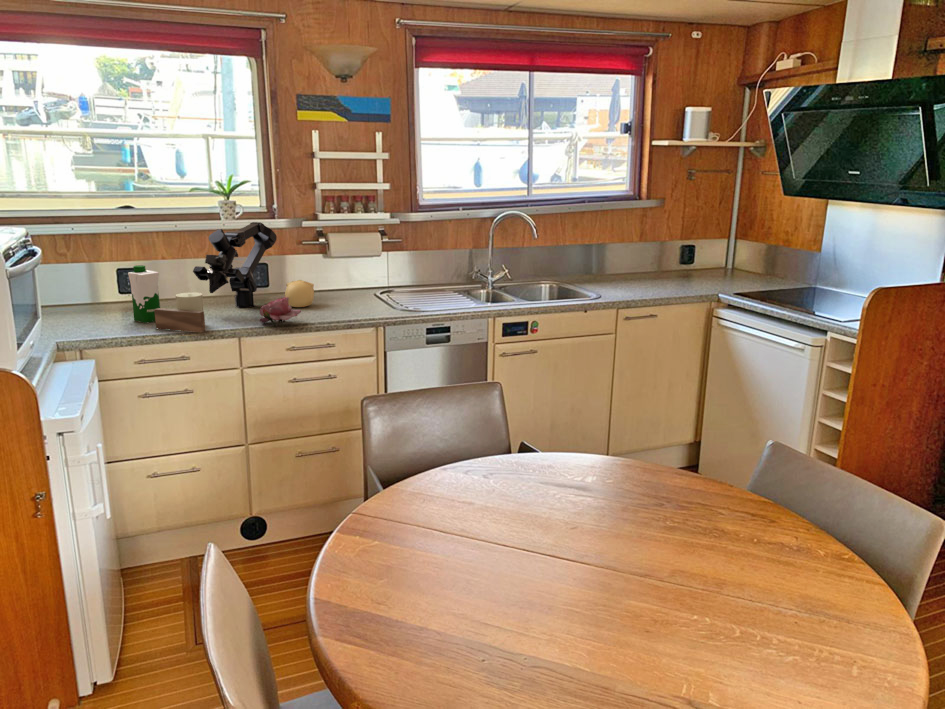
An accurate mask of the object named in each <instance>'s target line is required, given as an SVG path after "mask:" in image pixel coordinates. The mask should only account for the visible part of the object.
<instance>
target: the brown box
mask: <svg viewBox="0 0 945 709" xmlns="http://www.w3.org/2000/svg"><path fill="white" fill-rule="evenodd" d="M154 311H155V321H154V322H155V329H156V328H158V329H157V330H163V329H170V330H169V331H175V330H181V331H180V332H188V331H189V333H190V332H191V333H204V332H206V319H205V311H204V310H203V311H190V310H177V308H176V309H175V308H162V307H160V308H158V309H155V310H154Z"/></svg>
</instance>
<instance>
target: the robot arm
mask: <svg viewBox="0 0 945 709" xmlns="http://www.w3.org/2000/svg"><path fill="white" fill-rule="evenodd" d="M250 238H253V241H254V245H253V246H252V248H251V249H250V251H249V253H248V256H247V257H246V259H245V261H244V262H243V264H242V266H241V267H235V268H234V265H233V261H234V260H235V258H239V253H238V251H237V250H236V248H242V247H243V246H244V245H245V244H246V243H247V242H246V240H248V239H250ZM277 238H278V237H277V234H276V233H275V231H273V229H272V228H270V227H268V226H266V225H265V224H264V223H263V222H258V221H252V222H250V223H249V224H247V225H245V226H243V227H241V228H240V229H238V230H232V231H231V230H230V231H225V232H224V230H223V228H217V229H216V230H215V231H214V232H212V233H210V234H209V236H208V241H209V243H210V244H211V245H212V247H213V248H214V249H215V251H217V252H219V253H218V254H206V255H205V258H204V259H205V261H204V264H207V265H209V268H208V269H207V268H206V266H200V265H199V266H198V265H197V266H194V268H193V269H192V273H194V275H195V276H196V277H197V278H196V279H198V280H199V281H208V280H209V281H208V282H209V286H208V287H209V288H208V289H209V290H208V291H209V293H210V294H214V293H215V292H216V291H217V290H219V289H220V288H221V287H223V286H225V285H227V284H229V285H230V288H231V292H232V293H233V292H235V294H234V304H235V306H236V307H237V308H239V309H241V308H254V307H256V305H255V303H254V300H255V299H254V293H256V292H257V289H258V285H257V283H256V282H255V281H254V280H255V278H254V275H253V274H254V272H255V271H256V268H257V266H258V265H259V263H260V262H261V259H262V257H263V256H264V254H265V252H266V251H267V250H269V249H271V248H272V247H273V246H274V245H275V244H276V241H277Z"/></svg>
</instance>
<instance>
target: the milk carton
mask: <svg viewBox="0 0 945 709" xmlns="http://www.w3.org/2000/svg"><path fill="white" fill-rule="evenodd" d="M132 267H133V271H130V272H129V271H128V272H127V275H128V279H129V283H130V289H131V292H130V293H131V299H132V300H131V301H132V309H133V311H132V313H133V321H134V320H135V321H134V322H138V321H140V322H139V323H143V322H144V323H145V324H148V323H147V322H149V323H153V321H154V322H155V311H154V310H155V309H158V308H161V304H160V295H159V277H160V272H159V271H155V270H149V269H147V268H146V265H142V264H140V265H134V266H132Z"/></svg>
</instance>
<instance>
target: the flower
mask: <svg viewBox="0 0 945 709" xmlns="http://www.w3.org/2000/svg"><path fill="white" fill-rule="evenodd" d="M288 300H289V298H288V297H287V298H286V297H285V296H284V297H282V298H275V300H271V301H269V302H268V303H267V304H264V305H262V306H261V307H260V309H259V314H260V316H262V318H260V319H259V322H261V323H262V324H265V322H266V323H267V322H269V321H270V322H271V323H272V324H273V326H274V327H276V324H275V322H277V321H278V324H280V323H281V324H282V323H283V322H286V321H287V320H289V319H291V318H294V317H298V315H300V314H301V312H302V310H301V309H293V308H292V307H293V306H290V305H289V304H288Z"/></svg>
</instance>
